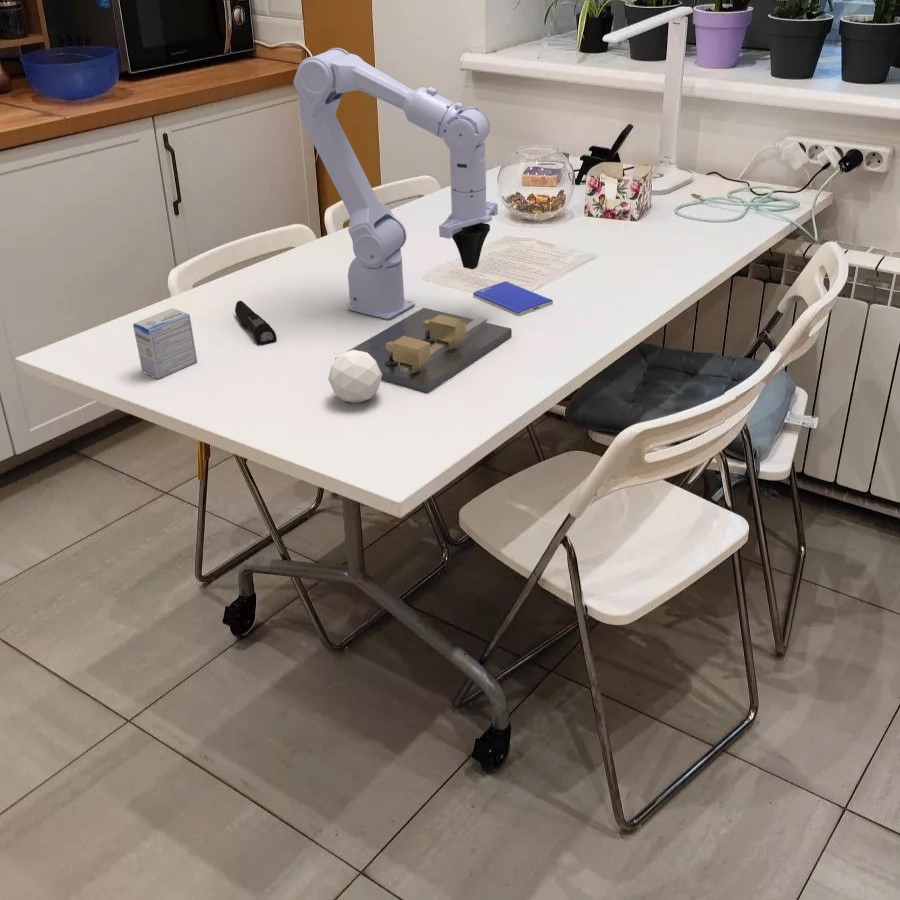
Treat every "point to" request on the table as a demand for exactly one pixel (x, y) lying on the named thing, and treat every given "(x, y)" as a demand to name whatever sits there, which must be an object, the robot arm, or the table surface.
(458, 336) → the block
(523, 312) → the hard drive
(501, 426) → the table surface
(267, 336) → the electric trimmer
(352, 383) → the ball
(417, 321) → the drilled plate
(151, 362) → the medicine box
